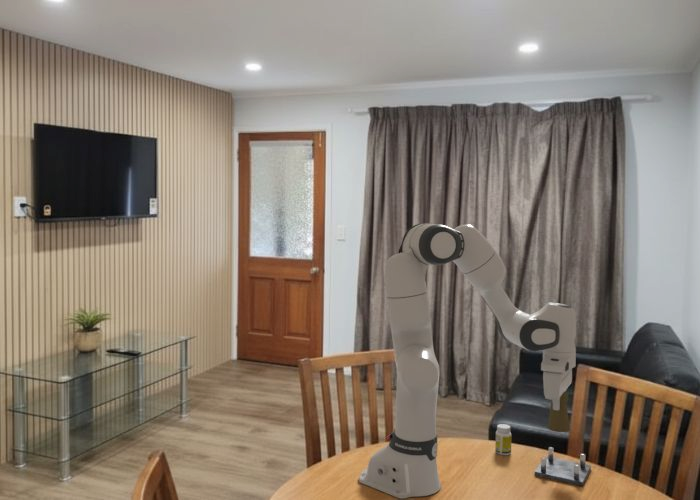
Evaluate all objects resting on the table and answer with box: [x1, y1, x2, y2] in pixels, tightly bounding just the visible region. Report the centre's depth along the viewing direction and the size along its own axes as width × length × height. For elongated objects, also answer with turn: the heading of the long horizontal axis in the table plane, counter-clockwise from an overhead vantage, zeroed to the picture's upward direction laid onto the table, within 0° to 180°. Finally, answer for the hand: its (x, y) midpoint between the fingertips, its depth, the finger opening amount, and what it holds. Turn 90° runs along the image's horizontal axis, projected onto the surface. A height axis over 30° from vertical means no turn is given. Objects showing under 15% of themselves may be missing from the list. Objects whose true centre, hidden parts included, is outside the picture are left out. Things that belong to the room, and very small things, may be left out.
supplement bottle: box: [495, 423, 513, 456], centre depth 191 cm, size 5×5×8 cm
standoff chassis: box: [533, 446, 592, 487], centre depth 177 cm, size 13×13×5 cm
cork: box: [547, 390, 571, 433], centre depth 177 cm, size 6×6×11 cm
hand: (558, 406), depth 176 cm, fingers closed on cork, 4 cm apart
